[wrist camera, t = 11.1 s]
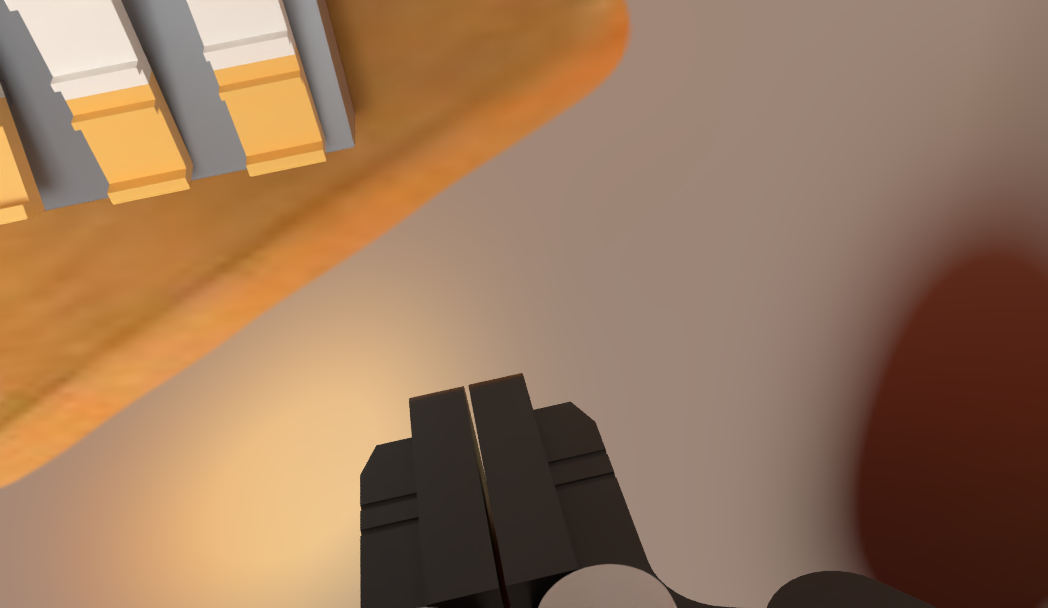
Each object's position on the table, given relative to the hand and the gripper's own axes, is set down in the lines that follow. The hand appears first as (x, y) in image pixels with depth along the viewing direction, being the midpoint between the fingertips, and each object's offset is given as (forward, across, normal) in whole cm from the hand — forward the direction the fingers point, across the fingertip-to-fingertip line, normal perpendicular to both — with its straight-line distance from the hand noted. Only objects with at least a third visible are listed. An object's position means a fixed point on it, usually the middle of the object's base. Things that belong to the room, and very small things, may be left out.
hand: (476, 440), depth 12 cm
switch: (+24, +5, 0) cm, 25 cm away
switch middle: (+24, +10, 0) cm, 26 cm away
